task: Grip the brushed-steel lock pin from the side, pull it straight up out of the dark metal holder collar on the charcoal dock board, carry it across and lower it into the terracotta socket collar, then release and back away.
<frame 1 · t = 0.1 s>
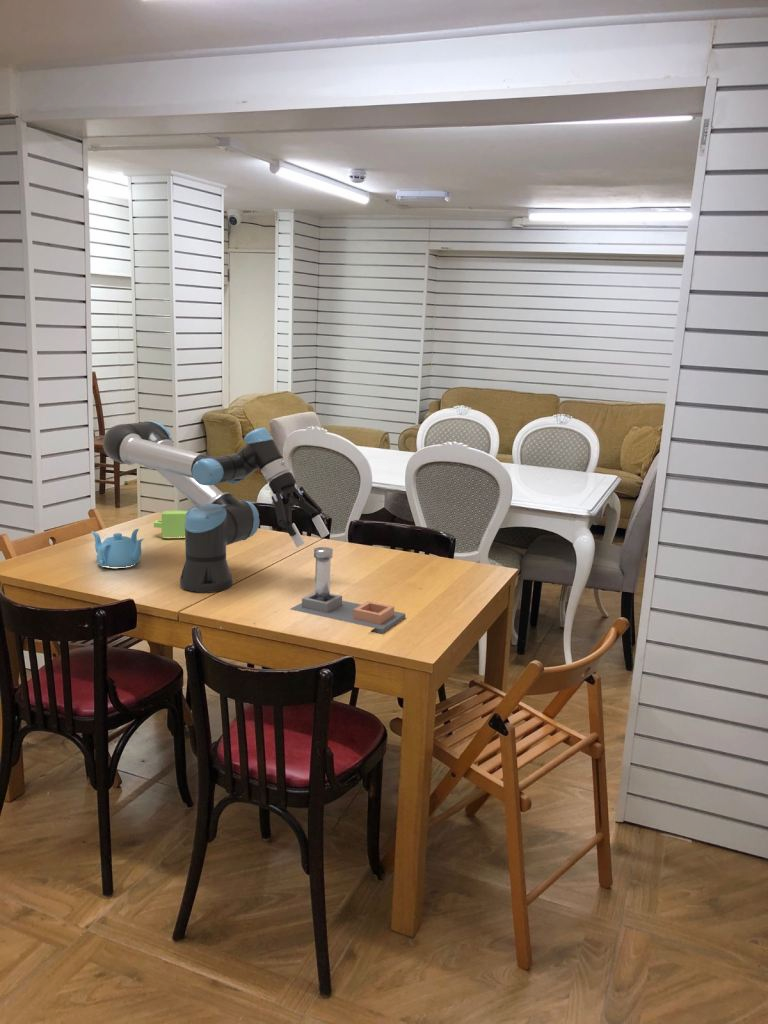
hand: (313, 540, 227), 15 cm above the table, tool tilted 35°, fingers open, 13 cm apart
lock pin: (322, 605, 213), point 1 cm above the table, touching dock board
gearbox: (179, 537, 285), on the table
teapot: (120, 564, 248), on the table
dock board: (347, 615, 210), on the table
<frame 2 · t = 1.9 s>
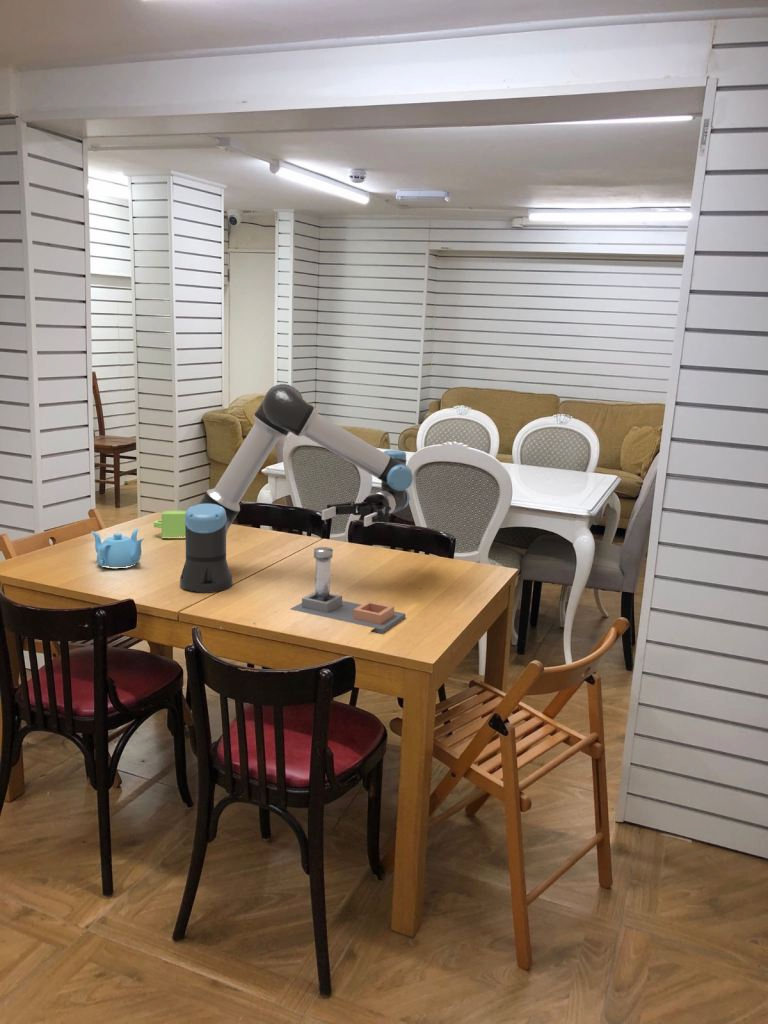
hand: (343, 518, 218), 24 cm above the table, tool horizontal, fingers open, 13 cm apart
nothing on the table moved.
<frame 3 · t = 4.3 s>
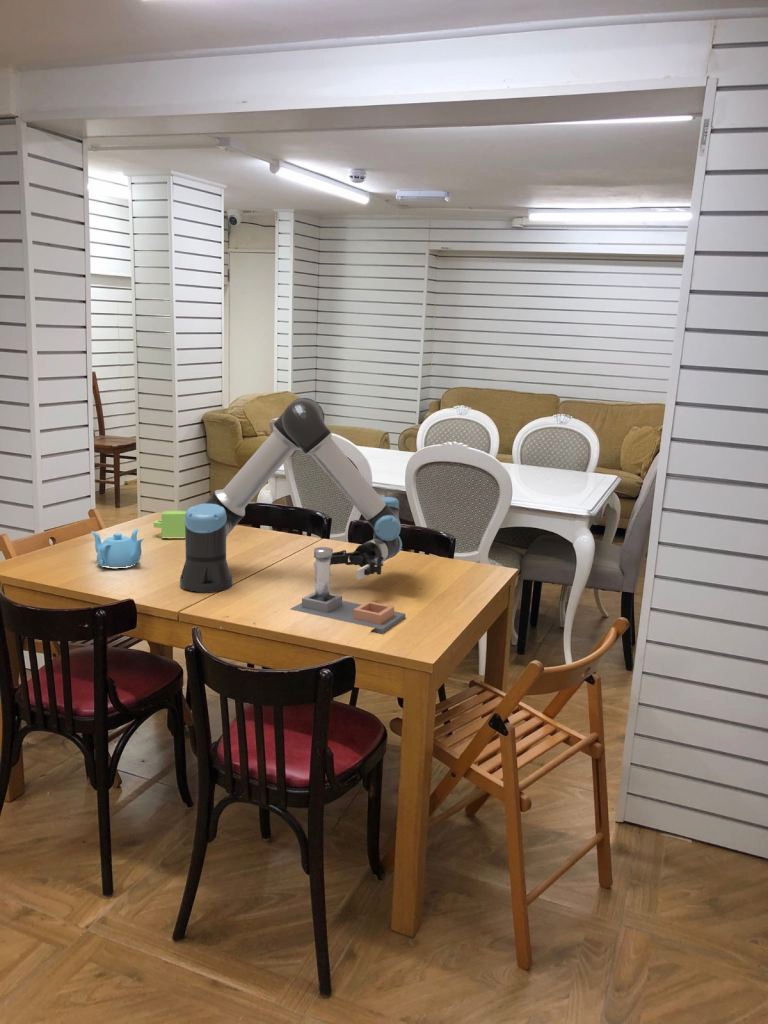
hand: (335, 570, 216), 10 cm above the table, tool horizontal, fingers open, 13 cm apart
nothing on the table moved.
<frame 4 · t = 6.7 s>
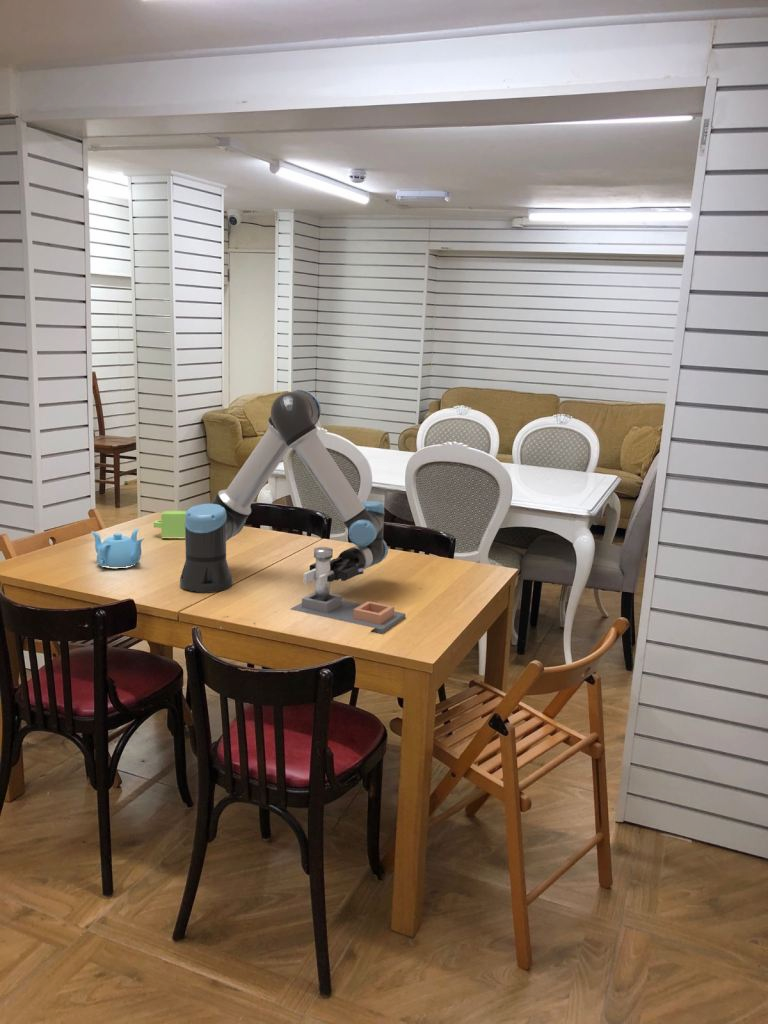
hand: (312, 580, 207), 10 cm above the table, tool horizontal, fingers closed on lock pin, 4 cm apart
lock pin: (322, 605, 213), point 1 cm above the table, touching dock board, gripper
everything else where it was.
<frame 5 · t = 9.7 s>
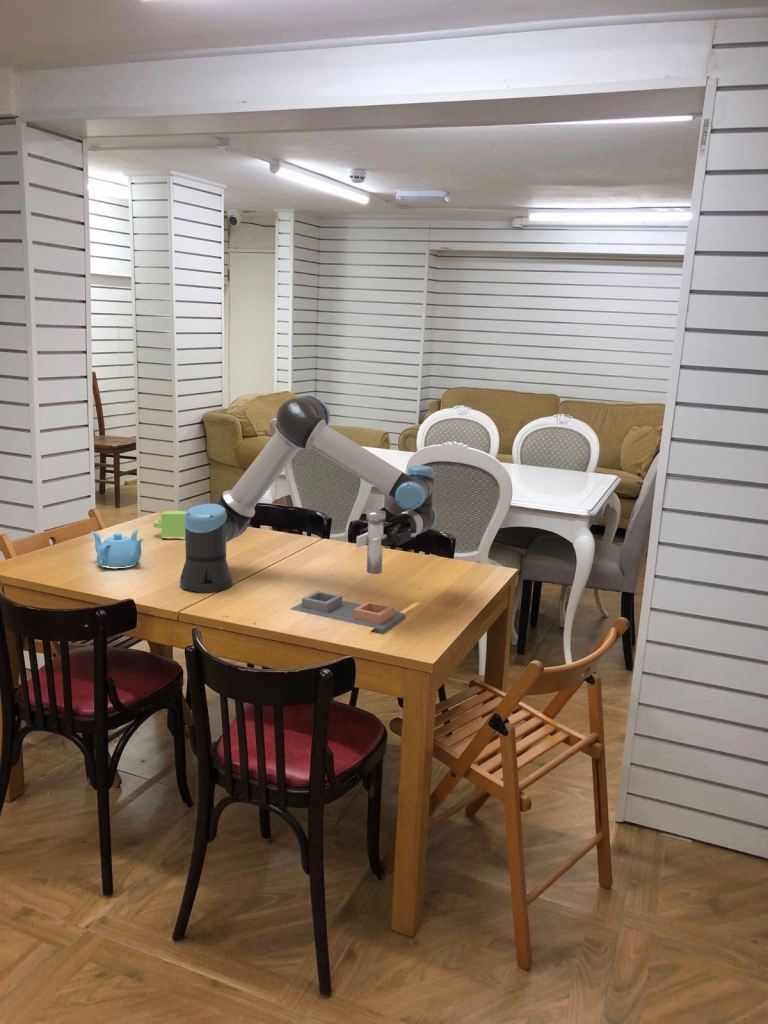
hand: (365, 543, 198), 22 cm above the table, tool horizontal, fingers closed on lock pin, 4 cm apart
lock pin: (374, 571, 204), point 14 cm above the table, touching gripper
everything else where it was.
when the fingers open (11 cm above the table, at t = 12.5 s): lock pin drops 1 cm, resting on dock board.
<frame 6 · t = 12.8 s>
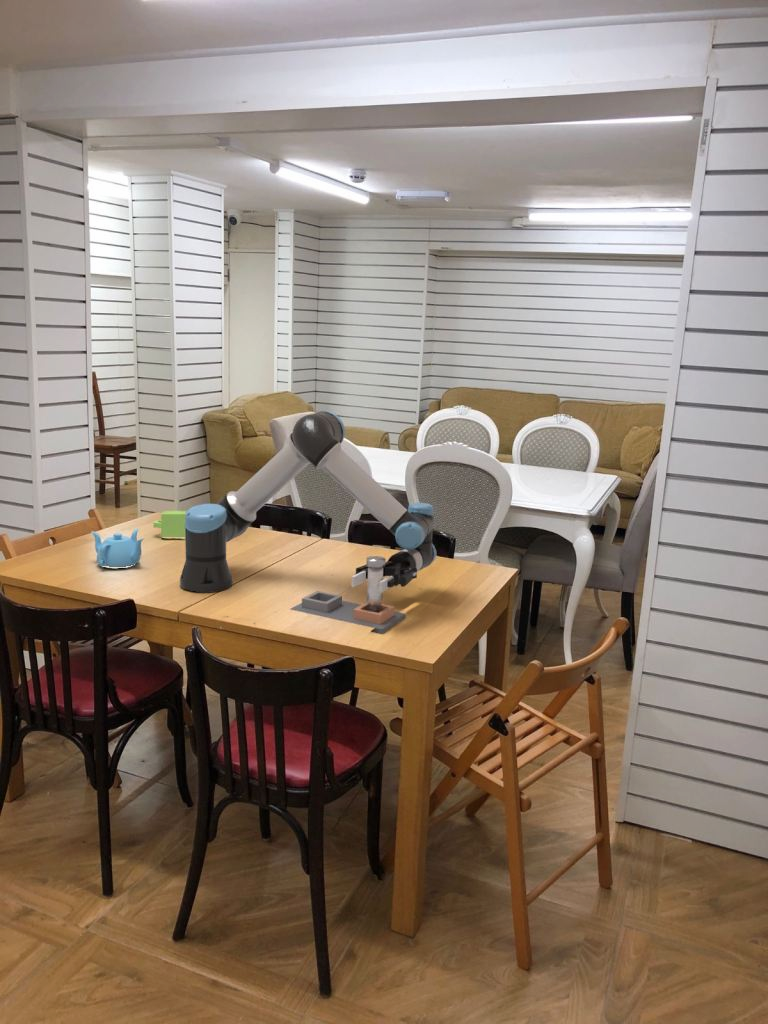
hand: (366, 584, 200), 11 cm above the table, tool horizontal, fingers open, 7 cm apart
lock pin: (373, 616, 207), point 1 cm above the table, touching dock board
everything else where it was.
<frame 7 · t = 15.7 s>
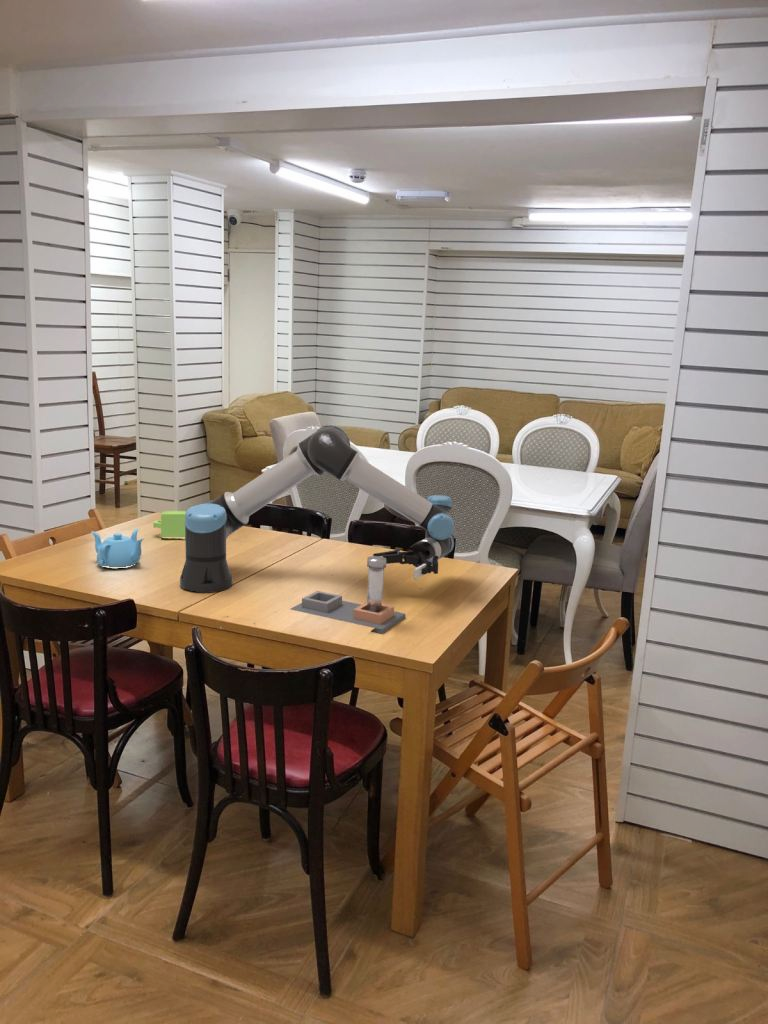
hand: (392, 570, 213), 12 cm above the table, tool horizontal, fingers open, 13 cm apart
nothing on the table moved.
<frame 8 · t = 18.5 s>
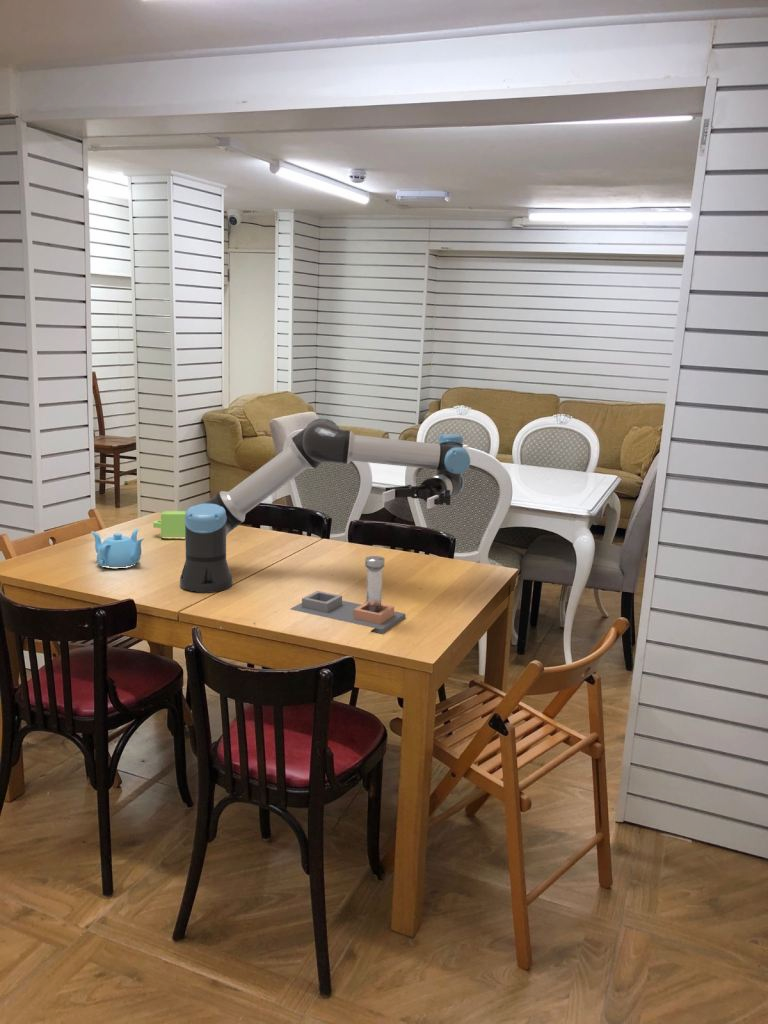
hand: (405, 500, 215), 30 cm above the table, tool horizontal, fingers open, 13 cm apart
nothing on the table moved.
at the end: lock pin 0.1 cm from the target spot on the dock board, point 1.2 cm above the dock board's base; lock pin tilted 1°; the gripper is holding nothing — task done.
